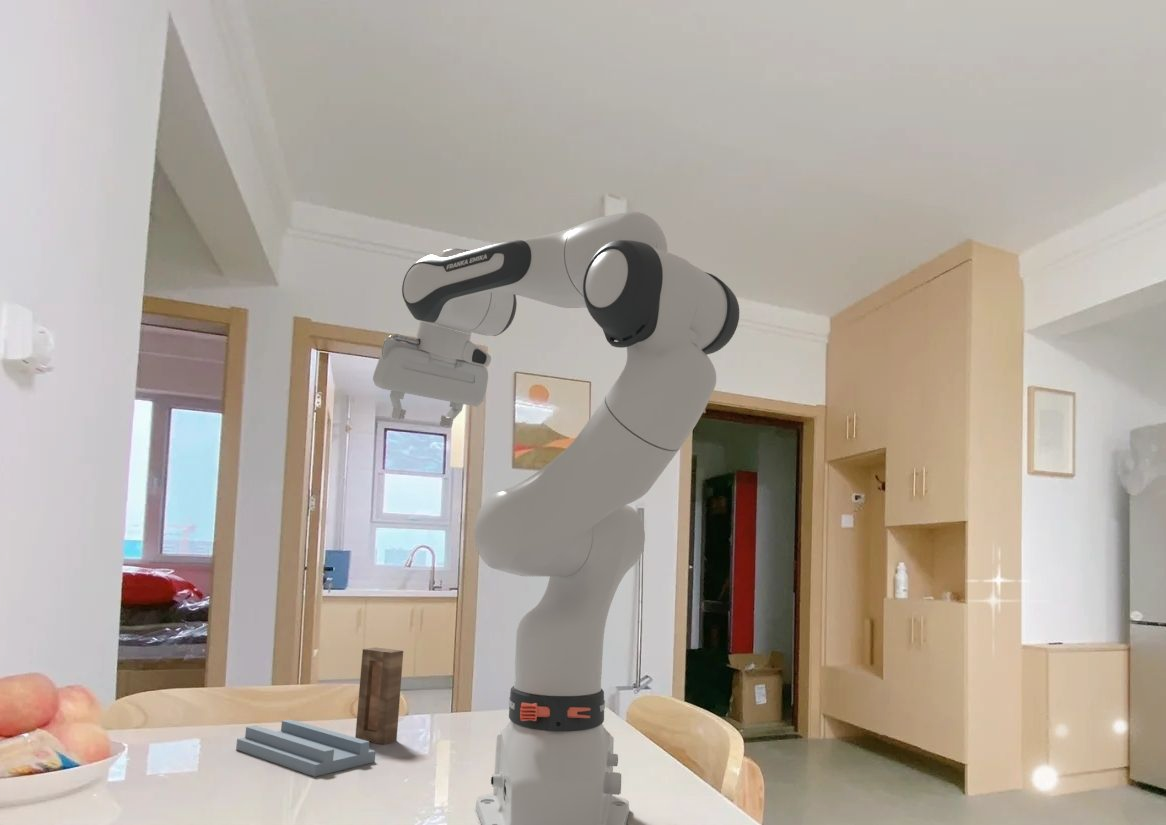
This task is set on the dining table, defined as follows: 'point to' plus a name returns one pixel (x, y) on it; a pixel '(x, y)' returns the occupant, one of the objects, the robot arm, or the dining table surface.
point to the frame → (379, 695)
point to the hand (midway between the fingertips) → (421, 423)
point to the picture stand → (306, 748)
